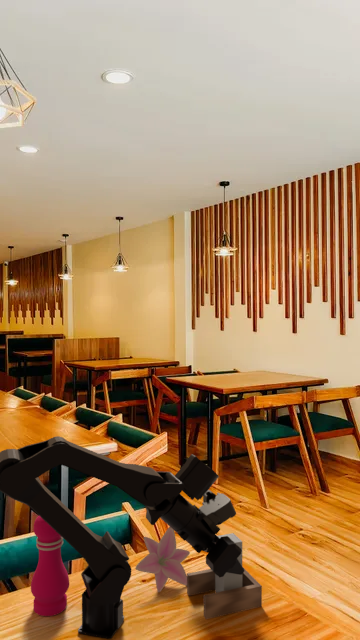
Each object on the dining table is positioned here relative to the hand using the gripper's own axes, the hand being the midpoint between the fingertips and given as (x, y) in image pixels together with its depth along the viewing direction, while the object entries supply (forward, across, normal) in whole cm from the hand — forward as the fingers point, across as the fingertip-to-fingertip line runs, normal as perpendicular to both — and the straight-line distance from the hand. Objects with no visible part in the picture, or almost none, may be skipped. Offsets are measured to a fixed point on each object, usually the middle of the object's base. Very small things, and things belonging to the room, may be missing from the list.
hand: (235, 564), depth 104 cm
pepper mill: (-20, +10, +30) cm, 37 cm away
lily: (-3, +11, +13) cm, 17 cm away
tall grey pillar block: (+4, 0, +6) cm, 7 cm away
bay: (+3, 0, +6) cm, 7 cm away
